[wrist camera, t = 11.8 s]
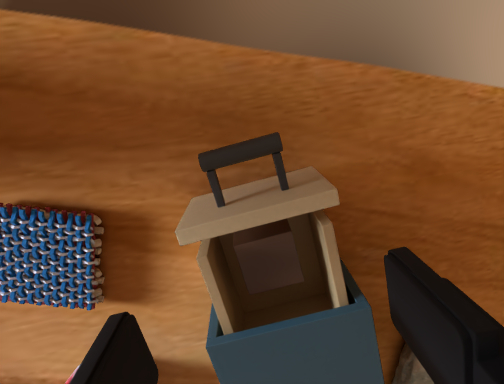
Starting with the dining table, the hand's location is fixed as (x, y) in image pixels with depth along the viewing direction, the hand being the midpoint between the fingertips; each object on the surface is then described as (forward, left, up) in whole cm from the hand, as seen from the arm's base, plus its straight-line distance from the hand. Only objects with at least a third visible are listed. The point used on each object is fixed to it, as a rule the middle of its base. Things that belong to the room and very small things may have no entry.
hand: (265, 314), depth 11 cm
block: (+5, 0, -16) cm, 17 cm away
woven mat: (+2, -21, -18) cm, 28 cm away
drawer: (+4, 0, -17) cm, 18 cm away
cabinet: (+16, 0, -18) cm, 24 cm away
